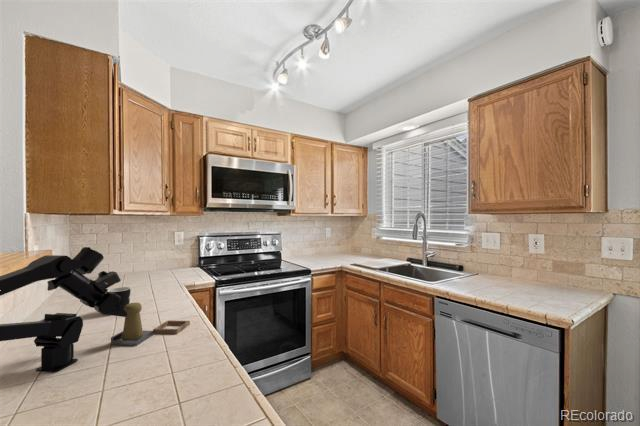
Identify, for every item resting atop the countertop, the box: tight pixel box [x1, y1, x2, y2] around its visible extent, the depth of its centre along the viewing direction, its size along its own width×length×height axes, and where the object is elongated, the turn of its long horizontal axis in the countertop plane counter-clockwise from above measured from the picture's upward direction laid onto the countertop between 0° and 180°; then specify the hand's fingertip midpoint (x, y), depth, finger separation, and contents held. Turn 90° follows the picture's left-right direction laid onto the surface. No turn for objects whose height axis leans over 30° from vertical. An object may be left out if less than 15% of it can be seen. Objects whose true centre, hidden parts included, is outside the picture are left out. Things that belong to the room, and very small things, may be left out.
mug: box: [106, 286, 131, 309], centre depth 130 cm, size 12×9×10 cm
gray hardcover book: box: [110, 330, 154, 346], centre depth 99 cm, size 8×9×2 cm
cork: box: [122, 302, 144, 339], centre depth 99 cm, size 6×6×11 cm
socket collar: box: [152, 320, 191, 335], centre depth 108 cm, size 9×9×2 cm
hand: (120, 312), depth 96 cm, fingers open, 9 cm apart
